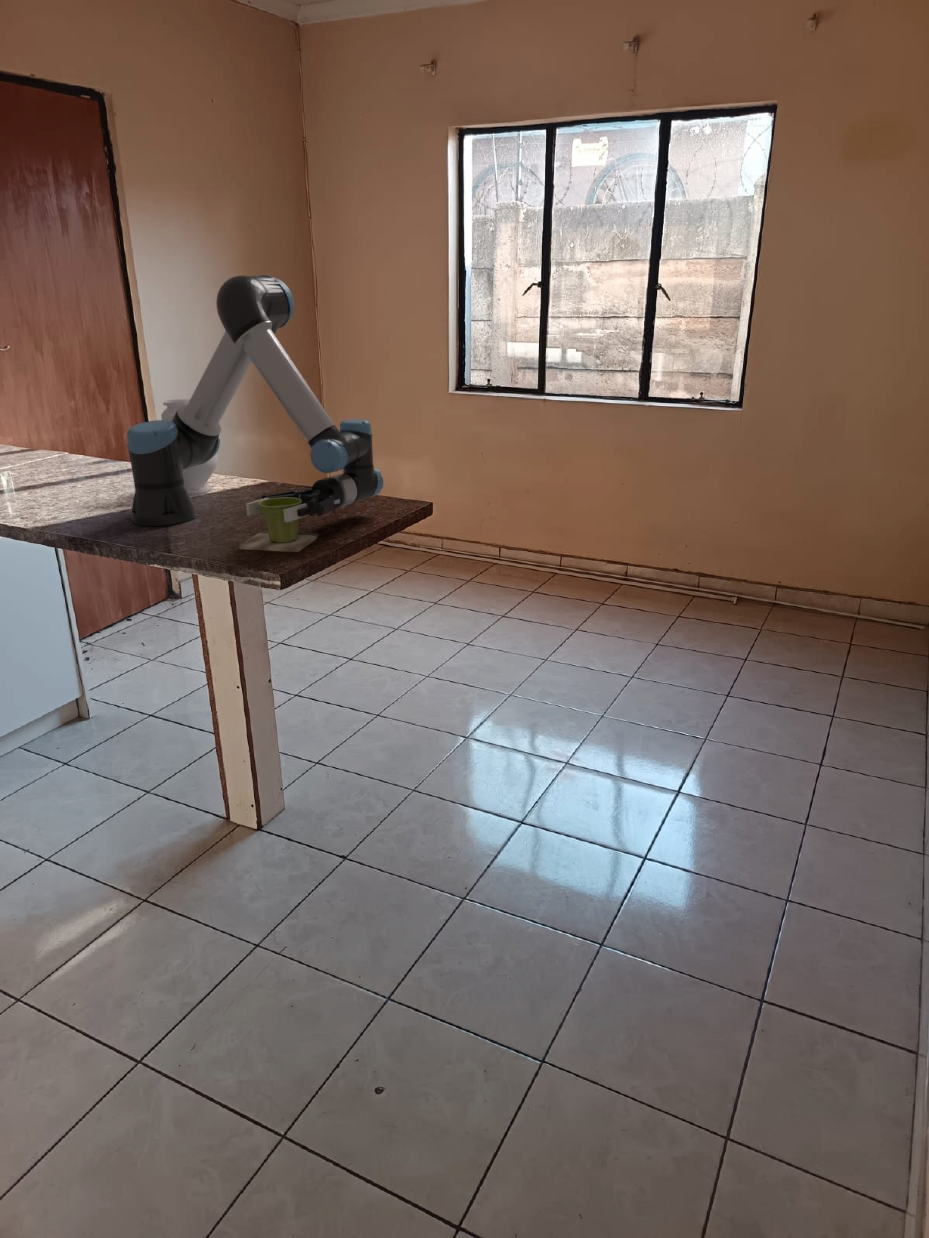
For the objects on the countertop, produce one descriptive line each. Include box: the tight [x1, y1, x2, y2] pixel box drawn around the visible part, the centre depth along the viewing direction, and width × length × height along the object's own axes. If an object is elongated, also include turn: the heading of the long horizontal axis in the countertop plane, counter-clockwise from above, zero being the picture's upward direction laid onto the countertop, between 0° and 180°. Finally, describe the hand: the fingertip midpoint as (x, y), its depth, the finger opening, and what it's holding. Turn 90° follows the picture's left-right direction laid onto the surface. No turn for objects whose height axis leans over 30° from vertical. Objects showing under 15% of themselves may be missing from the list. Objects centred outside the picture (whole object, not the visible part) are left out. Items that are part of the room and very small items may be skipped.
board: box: [238, 530, 320, 553], centre depth 194 cm, size 14×12×1 cm
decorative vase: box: [160, 398, 219, 497], centre depth 242 cm, size 18×18×25 cm
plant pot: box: [258, 497, 302, 543], centre depth 192 cm, size 9×9×9 cm
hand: (266, 513), depth 188 cm, fingers open, 10 cm apart
